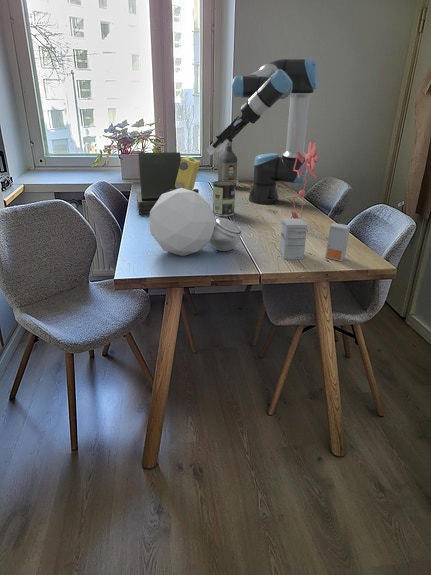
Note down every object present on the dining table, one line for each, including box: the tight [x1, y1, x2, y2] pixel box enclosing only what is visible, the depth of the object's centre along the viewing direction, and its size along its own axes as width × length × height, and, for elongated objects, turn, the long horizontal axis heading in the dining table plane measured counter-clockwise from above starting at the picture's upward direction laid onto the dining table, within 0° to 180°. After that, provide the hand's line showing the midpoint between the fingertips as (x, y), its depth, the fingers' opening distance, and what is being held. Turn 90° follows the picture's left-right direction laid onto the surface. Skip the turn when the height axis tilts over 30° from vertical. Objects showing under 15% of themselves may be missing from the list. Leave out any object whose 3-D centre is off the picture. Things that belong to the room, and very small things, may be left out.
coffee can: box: [212, 180, 237, 217], centre depth 197 cm, size 10×10×14 cm
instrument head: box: [175, 155, 201, 190], centre depth 176 cm, size 6×9×13 cm, turn 159°
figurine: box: [289, 141, 323, 233], centre depth 175 cm, size 15×26×35 cm, turn 6°
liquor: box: [217, 141, 238, 188], centre depth 241 cm, size 9×9×30 cm
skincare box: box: [325, 222, 351, 262], centre depth 150 cm, size 6×4×12 cm
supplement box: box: [278, 218, 308, 260], centre depth 151 cm, size 7×7×13 cm
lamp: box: [148, 188, 242, 257], centre depth 151 cm, size 22×34×24 cm, turn 100°
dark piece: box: [136, 151, 182, 216], centre depth 200 cm, size 23×20×25 cm
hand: (212, 151), depth 169 cm, fingers open, 7 cm apart
